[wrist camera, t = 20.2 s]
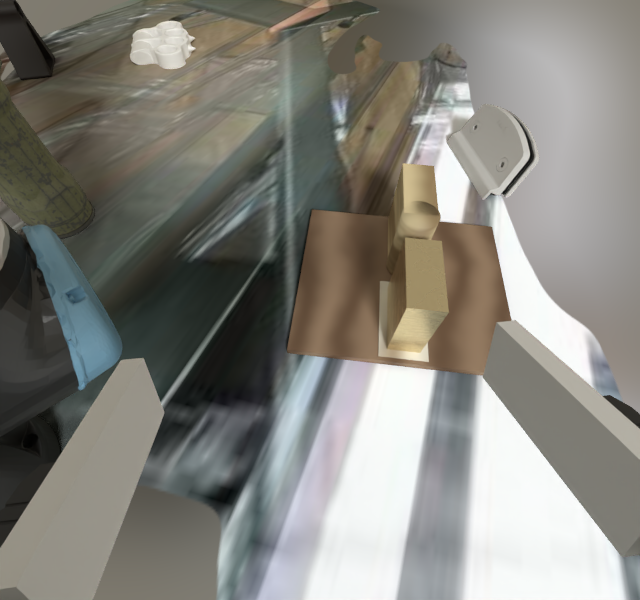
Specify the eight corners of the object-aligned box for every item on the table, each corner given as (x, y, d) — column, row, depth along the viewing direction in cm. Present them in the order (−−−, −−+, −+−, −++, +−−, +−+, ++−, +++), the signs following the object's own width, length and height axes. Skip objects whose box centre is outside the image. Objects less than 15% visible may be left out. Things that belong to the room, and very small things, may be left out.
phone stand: (51, 77, 74) (9, 9, 64) (21, 80, 73) (-26, 11, 63) (55, 58, 79) (17, -9, 68) (27, 61, 78) (-16, -6, 68)
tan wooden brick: (386, 349, 41) (406, 307, 32) (387, 287, 45) (404, 237, 37) (420, 352, 41) (448, 312, 32) (417, 290, 45) (441, 241, 37)
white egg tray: (137, 39, 86) (196, 35, 87) (133, 74, 76) (198, 68, 78) (131, 23, 83) (192, 19, 85) (126, 57, 74) (194, 52, 75)
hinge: (445, 141, 65) (483, 88, 57) (464, 146, 67) (502, 95, 59) (483, 200, 56) (532, 148, 49) (502, 205, 58) (553, 154, 51)
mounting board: (287, 352, 41) (280, 308, 32) (312, 214, 54) (312, 152, 44) (518, 379, 40) (581, 341, 31) (488, 231, 53) (527, 172, 43)
